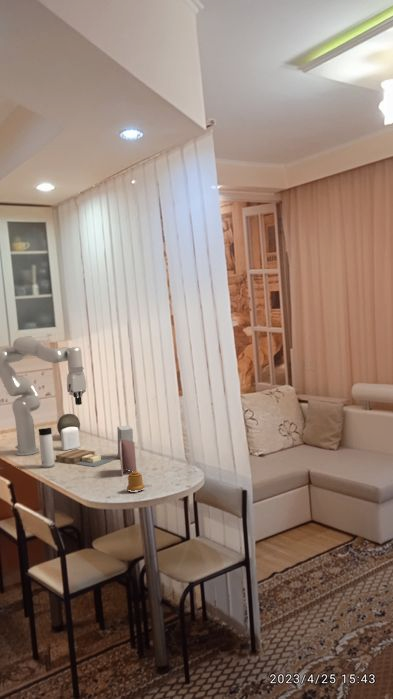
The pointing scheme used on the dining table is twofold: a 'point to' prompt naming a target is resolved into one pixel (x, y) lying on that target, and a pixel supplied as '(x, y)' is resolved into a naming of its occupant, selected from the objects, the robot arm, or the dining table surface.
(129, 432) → the skincare box
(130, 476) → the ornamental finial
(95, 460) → the cream rectangular block
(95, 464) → the mat
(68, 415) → the cantaloupe
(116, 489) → the dining table surface
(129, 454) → the greeting card
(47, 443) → the travel mug
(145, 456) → the dining table surface
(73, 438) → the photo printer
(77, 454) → the tan flat square block
